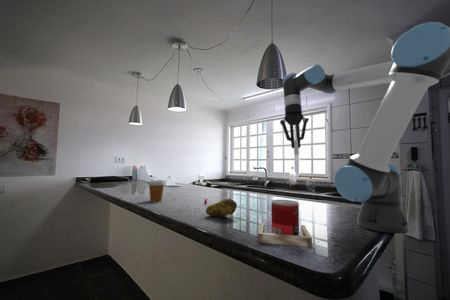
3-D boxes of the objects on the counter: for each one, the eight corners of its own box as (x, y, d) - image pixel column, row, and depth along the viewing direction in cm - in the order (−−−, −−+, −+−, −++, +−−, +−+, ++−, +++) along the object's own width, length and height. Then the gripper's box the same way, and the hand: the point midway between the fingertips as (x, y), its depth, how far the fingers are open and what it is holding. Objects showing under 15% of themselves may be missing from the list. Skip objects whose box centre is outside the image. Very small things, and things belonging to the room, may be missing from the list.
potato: (216, 213, 95) (216, 195, 95) (239, 218, 87) (239, 198, 87) (203, 216, 88) (204, 197, 89) (227, 222, 80) (228, 201, 81)
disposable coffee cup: (147, 200, 128) (148, 180, 129) (163, 199, 131) (164, 180, 132) (147, 202, 119) (148, 181, 120) (164, 202, 122) (165, 181, 123)
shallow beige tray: (304, 232, 68) (304, 225, 69) (312, 247, 56) (311, 238, 56) (260, 229, 72) (260, 221, 72) (258, 242, 59) (258, 233, 59)
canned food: (300, 244, 58) (299, 204, 59) (271, 241, 60) (271, 202, 61) (297, 235, 65) (297, 200, 66) (271, 233, 67) (271, 198, 68)
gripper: (306, 107, 101) (310, 155, 97) (278, 110, 103) (281, 156, 99) (308, 101, 94) (313, 153, 89) (279, 104, 96) (282, 154, 92)
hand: (296, 154), depth 94 cm, fingers closed
